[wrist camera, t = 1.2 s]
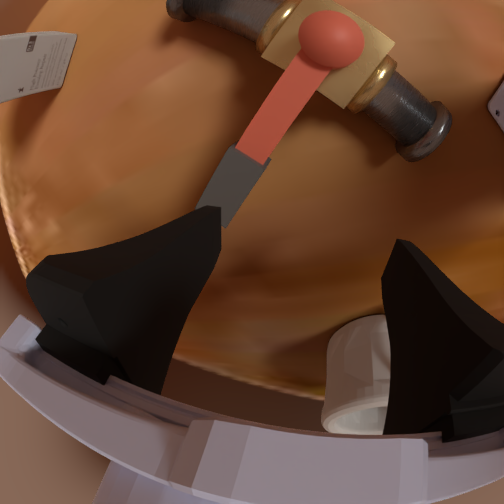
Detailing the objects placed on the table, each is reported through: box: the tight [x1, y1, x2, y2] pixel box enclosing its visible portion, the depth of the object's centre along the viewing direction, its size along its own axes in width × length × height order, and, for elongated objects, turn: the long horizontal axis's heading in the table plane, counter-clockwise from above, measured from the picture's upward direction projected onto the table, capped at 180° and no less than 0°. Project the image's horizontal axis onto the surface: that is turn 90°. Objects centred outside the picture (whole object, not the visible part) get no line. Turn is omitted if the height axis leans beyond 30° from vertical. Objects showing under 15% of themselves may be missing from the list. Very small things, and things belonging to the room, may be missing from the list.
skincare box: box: [0, 31, 77, 103], centre depth 11 cm, size 6×4×12 cm
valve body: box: [256, 0, 397, 114], centre depth 12 cm, size 7×5×5 cm
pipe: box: [166, 0, 452, 162], centre depth 12 cm, size 18×5×5 cm, turn 59°
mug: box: [321, 315, 390, 435], centre depth 23 cm, size 14×11×10 cm
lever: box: [195, 10, 365, 228], centre depth 12 cm, size 12×3×2 cm, turn 149°
